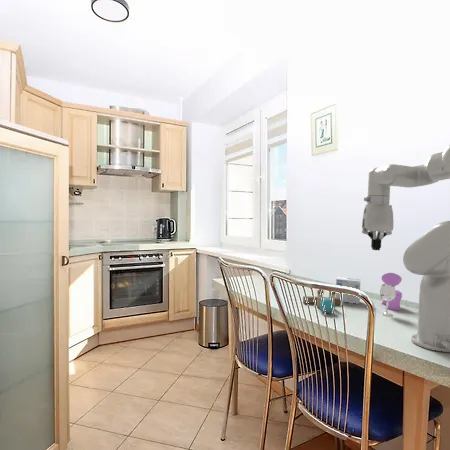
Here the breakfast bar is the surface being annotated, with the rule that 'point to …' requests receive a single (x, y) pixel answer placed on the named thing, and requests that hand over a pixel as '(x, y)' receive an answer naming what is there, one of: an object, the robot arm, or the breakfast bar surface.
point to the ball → (327, 305)
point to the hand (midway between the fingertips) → (375, 249)
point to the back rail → (310, 300)
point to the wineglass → (387, 296)
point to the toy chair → (395, 280)
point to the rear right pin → (333, 296)
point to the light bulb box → (349, 283)
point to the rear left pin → (319, 298)
